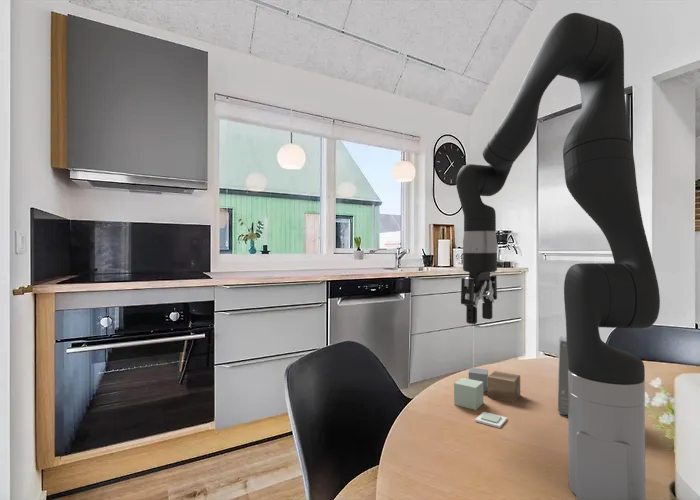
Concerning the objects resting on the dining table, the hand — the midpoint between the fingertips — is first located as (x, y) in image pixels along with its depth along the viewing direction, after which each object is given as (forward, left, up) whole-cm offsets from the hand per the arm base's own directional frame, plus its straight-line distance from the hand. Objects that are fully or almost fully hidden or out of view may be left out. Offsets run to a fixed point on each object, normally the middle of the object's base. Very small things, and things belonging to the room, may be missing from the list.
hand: (479, 321), depth 90 cm
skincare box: (+8, -19, -19) cm, 28 cm away
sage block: (-2, +2, -19) cm, 19 cm away
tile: (-8, -5, -19) cm, 21 cm away
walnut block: (+8, -3, -19) cm, 21 cm away
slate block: (+10, +4, -19) cm, 22 cm away
